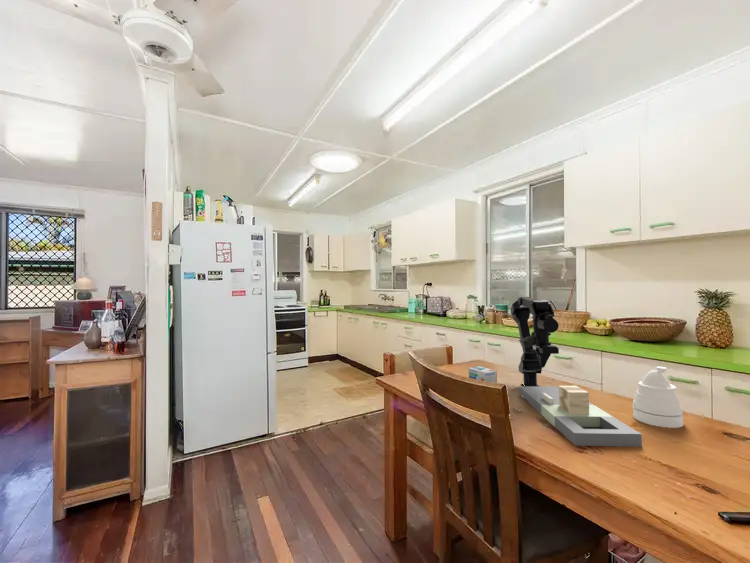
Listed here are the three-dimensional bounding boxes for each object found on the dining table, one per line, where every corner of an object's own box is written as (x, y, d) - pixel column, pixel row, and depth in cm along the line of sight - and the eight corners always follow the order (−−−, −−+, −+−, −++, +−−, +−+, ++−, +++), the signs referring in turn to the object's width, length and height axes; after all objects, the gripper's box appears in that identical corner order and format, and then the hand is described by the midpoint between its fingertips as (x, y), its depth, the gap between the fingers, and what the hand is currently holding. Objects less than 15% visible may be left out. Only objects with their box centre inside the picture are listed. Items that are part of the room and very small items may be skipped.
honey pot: (692, 423, 109) (689, 368, 109) (668, 430, 104) (665, 372, 105) (648, 411, 121) (645, 360, 121) (624, 416, 116) (622, 364, 117)
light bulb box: (468, 391, 149) (468, 367, 149) (480, 389, 151) (479, 365, 152) (486, 398, 139) (485, 372, 139) (498, 396, 142) (497, 370, 142)
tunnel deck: (519, 394, 143) (519, 381, 143) (563, 394, 141) (563, 381, 141) (575, 445, 96) (574, 426, 96) (642, 446, 94) (641, 426, 94)
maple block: (559, 405, 119) (558, 385, 119) (577, 405, 118) (576, 385, 118) (570, 413, 111) (569, 392, 111) (589, 413, 110) (588, 392, 110)
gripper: (513, 327, 151) (515, 362, 150) (529, 332, 132) (530, 372, 132) (539, 327, 150) (541, 362, 149) (558, 332, 131) (560, 372, 131)
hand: (542, 367), depth 140 cm, fingers closed
